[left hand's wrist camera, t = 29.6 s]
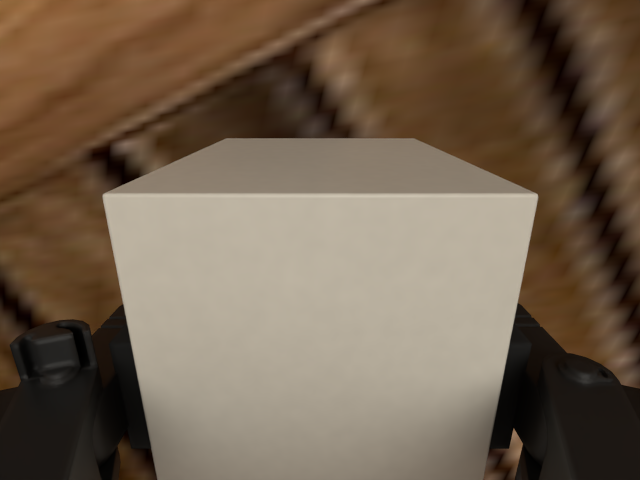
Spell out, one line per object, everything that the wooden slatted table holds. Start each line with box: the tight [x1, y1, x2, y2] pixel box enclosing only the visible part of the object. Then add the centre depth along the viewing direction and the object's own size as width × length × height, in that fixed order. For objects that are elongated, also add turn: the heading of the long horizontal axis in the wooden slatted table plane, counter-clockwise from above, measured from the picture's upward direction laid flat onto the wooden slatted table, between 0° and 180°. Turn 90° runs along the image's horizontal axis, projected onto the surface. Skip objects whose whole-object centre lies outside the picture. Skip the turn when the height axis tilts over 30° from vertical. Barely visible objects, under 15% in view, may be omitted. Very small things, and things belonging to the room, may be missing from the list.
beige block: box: [103, 138, 538, 480], centre depth 12 cm, size 9×7×8 cm
